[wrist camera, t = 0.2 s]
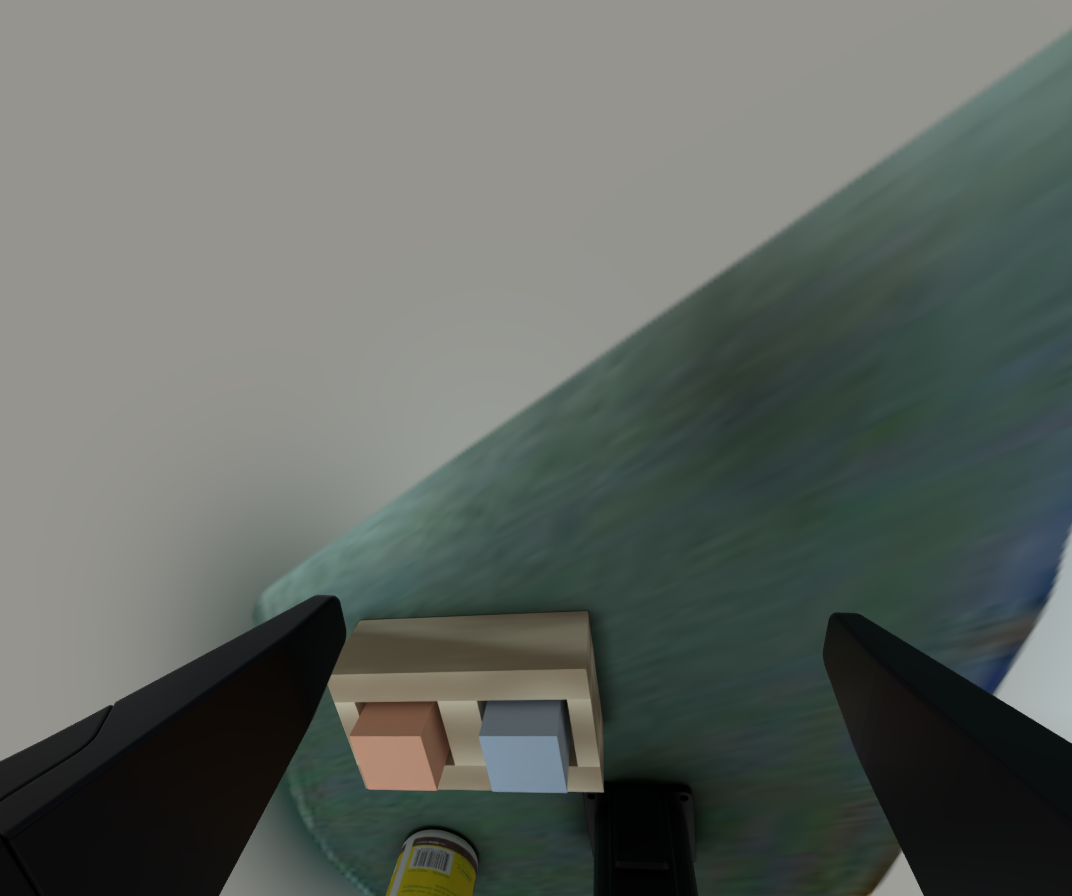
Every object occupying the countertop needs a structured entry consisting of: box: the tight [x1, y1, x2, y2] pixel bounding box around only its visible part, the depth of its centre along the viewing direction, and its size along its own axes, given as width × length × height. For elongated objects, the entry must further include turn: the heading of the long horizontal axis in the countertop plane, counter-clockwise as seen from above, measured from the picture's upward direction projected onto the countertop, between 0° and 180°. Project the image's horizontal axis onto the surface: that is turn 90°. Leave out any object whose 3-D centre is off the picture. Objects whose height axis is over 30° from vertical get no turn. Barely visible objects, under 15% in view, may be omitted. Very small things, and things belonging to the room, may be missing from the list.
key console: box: [328, 611, 604, 792], centre depth 27 cm, size 8×13×4 cm, turn 98°
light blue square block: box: [479, 699, 570, 793], centre depth 24 cm, size 4×4×3 cm
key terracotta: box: [349, 701, 450, 791], centre depth 25 cm, size 4×4×3 cm
